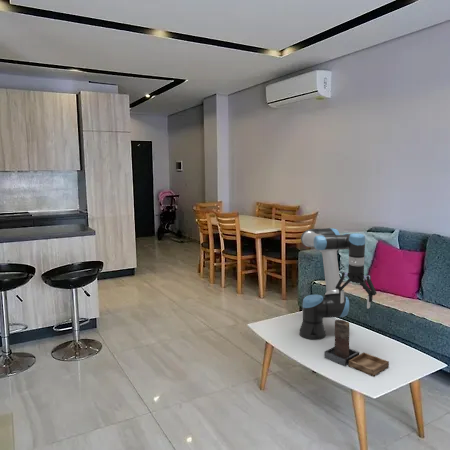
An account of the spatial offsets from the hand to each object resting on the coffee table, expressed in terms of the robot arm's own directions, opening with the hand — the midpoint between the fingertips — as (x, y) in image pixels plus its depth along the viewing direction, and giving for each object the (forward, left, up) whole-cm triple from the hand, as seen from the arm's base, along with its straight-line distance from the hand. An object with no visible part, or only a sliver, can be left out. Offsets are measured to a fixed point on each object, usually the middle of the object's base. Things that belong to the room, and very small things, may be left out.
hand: (355, 305), depth 204 cm
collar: (-4, -5, -28) cm, 29 cm away
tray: (+10, -3, -28) cm, 30 cm away
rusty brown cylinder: (-4, -5, -28) cm, 29 cm away
